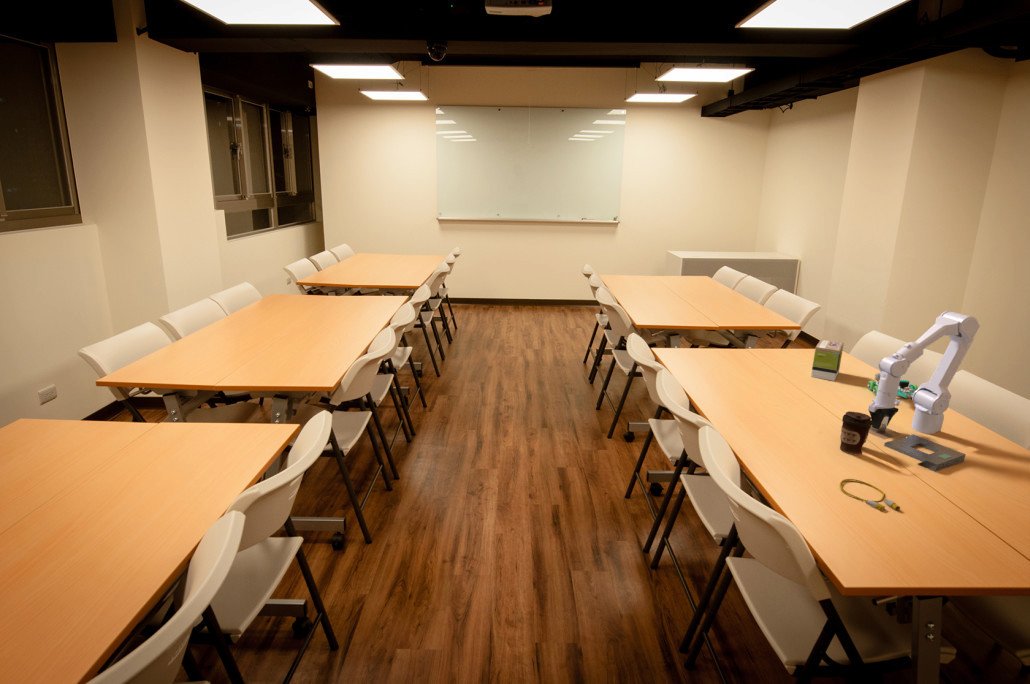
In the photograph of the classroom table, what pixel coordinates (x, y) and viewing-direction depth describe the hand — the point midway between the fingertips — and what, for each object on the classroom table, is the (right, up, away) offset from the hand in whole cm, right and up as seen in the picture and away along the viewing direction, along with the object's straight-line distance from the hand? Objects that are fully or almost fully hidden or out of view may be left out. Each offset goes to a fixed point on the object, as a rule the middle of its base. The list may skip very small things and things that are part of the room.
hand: (879, 426), depth 196 cm
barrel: (0, -1, 0) cm, 1 cm away
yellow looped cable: (-29, -14, -37) cm, 49 cm away
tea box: (+15, +15, +61) cm, 65 cm away
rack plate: (+5, -7, -14) cm, 16 cm away
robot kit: (+31, +6, +35) cm, 47 cm away
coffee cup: (-17, -6, -11) cm, 22 cm away
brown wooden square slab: (0, -3, +1) cm, 3 cm away
